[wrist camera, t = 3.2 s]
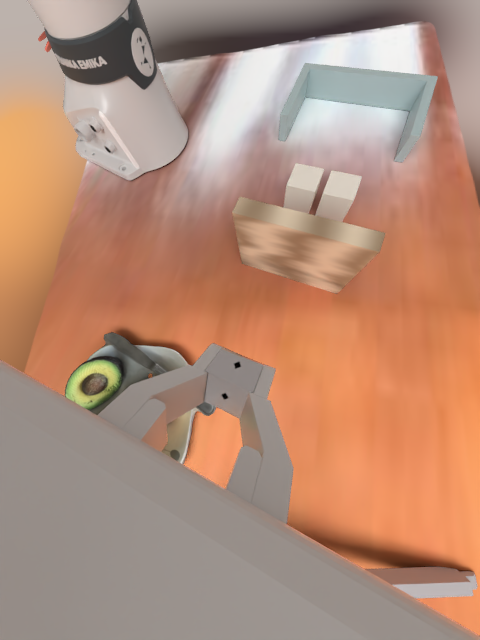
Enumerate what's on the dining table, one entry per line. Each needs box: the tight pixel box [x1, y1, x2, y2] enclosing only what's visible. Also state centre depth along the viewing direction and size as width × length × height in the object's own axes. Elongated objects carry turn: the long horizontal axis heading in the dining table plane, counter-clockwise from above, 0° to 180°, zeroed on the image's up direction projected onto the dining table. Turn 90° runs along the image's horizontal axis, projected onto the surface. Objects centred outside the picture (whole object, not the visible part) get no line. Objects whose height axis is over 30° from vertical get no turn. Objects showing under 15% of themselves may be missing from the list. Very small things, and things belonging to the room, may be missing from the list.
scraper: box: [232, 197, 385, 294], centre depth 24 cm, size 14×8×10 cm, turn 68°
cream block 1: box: [283, 163, 324, 214], centre depth 29 cm, size 4×4×4 cm
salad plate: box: [65, 332, 216, 464], centre depth 24 cm, size 19×18×5 cm
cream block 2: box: [315, 171, 362, 222], centre depth 28 cm, size 4×4×4 cm
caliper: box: [365, 567, 477, 598], centre depth 17 cm, size 20×1×6 cm, turn 88°
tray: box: [279, 63, 438, 162], centre depth 31 cm, size 20×12×4 cm, turn 68°
